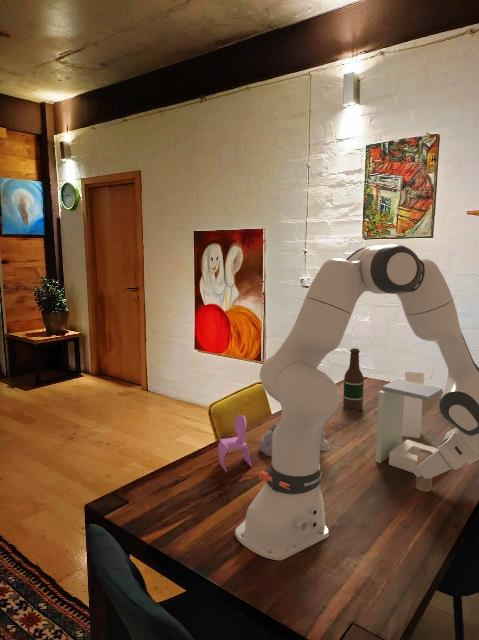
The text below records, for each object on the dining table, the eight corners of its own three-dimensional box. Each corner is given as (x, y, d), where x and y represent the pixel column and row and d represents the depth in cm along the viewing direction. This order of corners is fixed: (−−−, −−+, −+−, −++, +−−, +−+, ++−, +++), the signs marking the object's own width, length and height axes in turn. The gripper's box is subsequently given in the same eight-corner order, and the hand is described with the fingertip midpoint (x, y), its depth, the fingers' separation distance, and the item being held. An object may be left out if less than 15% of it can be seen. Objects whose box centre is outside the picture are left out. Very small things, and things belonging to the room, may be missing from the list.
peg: (427, 493, 123) (430, 458, 121) (413, 487, 126) (415, 453, 124) (433, 487, 126) (436, 453, 124) (419, 482, 129) (421, 448, 127)
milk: (420, 438, 157) (424, 375, 153) (401, 436, 159) (405, 373, 155) (419, 431, 163) (424, 370, 159) (401, 429, 165) (405, 369, 161)
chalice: (332, 453, 146) (334, 398, 143) (310, 451, 148) (312, 397, 145) (332, 443, 154) (334, 391, 151) (312, 441, 155) (313, 389, 152)
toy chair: (216, 461, 141) (215, 414, 139) (243, 456, 145) (243, 410, 142) (225, 474, 134) (224, 424, 131) (253, 468, 137) (253, 420, 134)
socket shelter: (427, 479, 130) (432, 400, 126) (375, 461, 141) (379, 387, 137) (446, 462, 140) (452, 388, 136) (396, 446, 151) (400, 377, 147)
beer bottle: (339, 405, 189) (341, 347, 185) (356, 403, 191) (358, 346, 187) (349, 411, 182) (351, 352, 178) (366, 409, 184) (369, 350, 180)
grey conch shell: (281, 470, 141) (274, 441, 138) (255, 456, 150) (248, 429, 147) (307, 449, 148) (301, 420, 144) (281, 437, 157) (275, 410, 153)
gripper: (469, 422, 126) (430, 446, 134) (439, 446, 111) (397, 471, 119) (485, 443, 123) (445, 465, 132) (457, 470, 109) (413, 493, 117)
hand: (422, 468), depth 125 cm, fingers open, 6 cm apart
